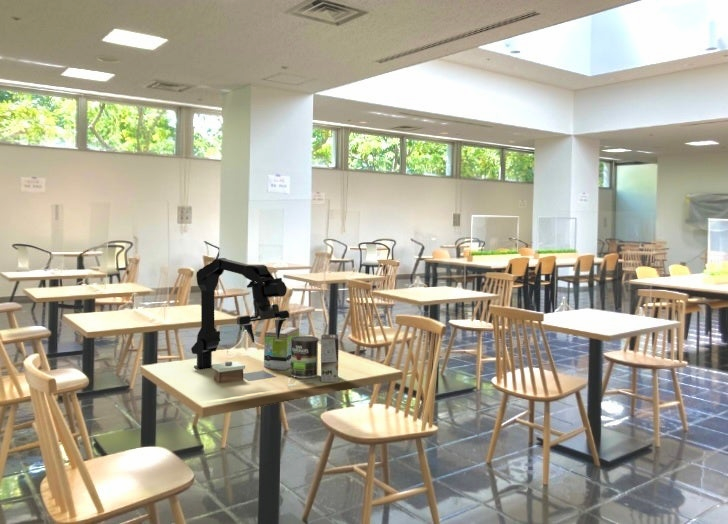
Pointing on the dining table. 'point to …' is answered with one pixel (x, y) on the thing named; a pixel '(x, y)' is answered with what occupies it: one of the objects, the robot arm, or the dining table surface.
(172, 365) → the dining table surface
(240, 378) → the box
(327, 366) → the coffee box
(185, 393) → the dining table surface
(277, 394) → the dining table surface
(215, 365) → the lid
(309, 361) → the coffee can
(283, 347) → the tea box
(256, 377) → the coaster
